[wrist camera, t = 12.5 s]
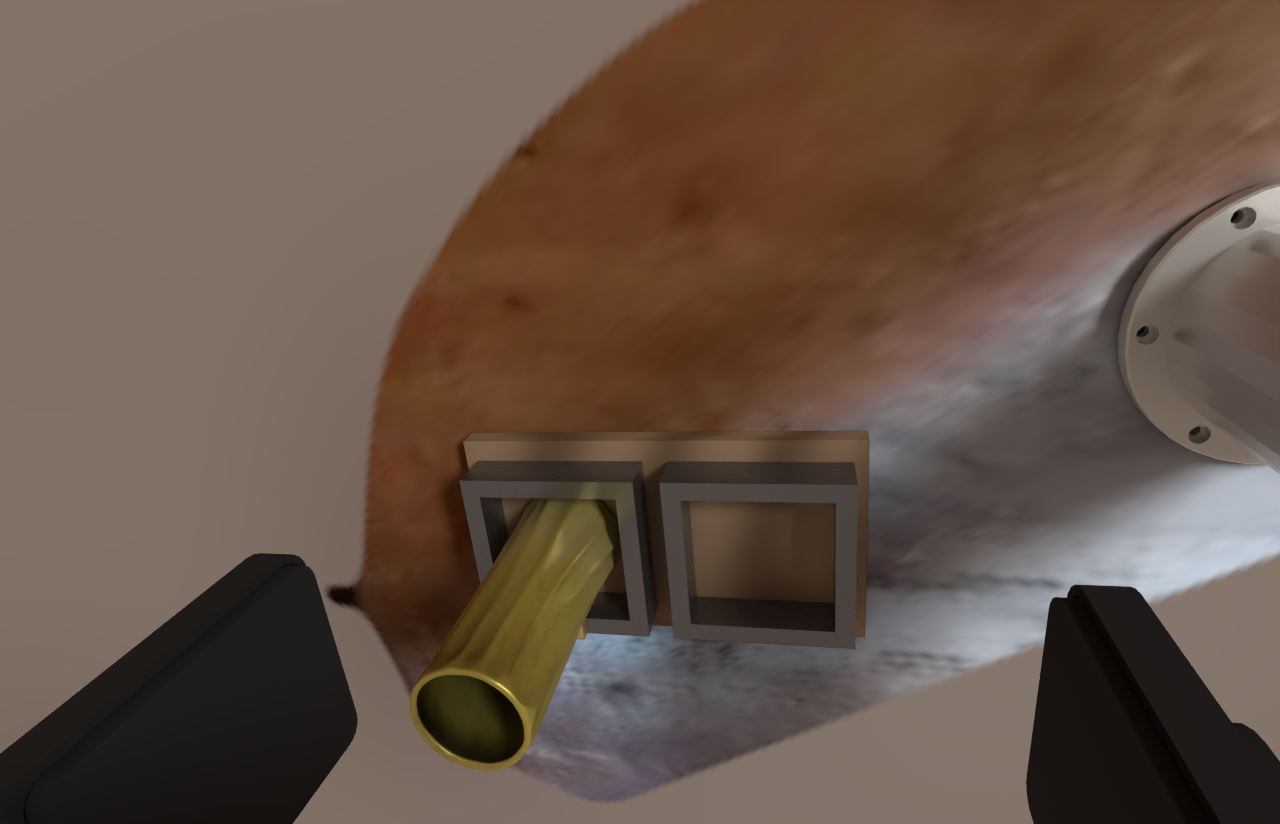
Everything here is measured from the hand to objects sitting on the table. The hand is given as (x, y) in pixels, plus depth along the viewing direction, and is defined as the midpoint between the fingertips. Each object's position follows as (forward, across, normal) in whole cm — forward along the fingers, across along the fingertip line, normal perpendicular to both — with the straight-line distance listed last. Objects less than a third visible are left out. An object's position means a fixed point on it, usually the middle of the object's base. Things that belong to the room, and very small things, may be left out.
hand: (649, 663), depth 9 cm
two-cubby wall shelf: (+27, +6, +15) cm, 32 cm away
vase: (+27, +11, +15) cm, 33 cm away
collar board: (+28, +6, +15) cm, 33 cm away
